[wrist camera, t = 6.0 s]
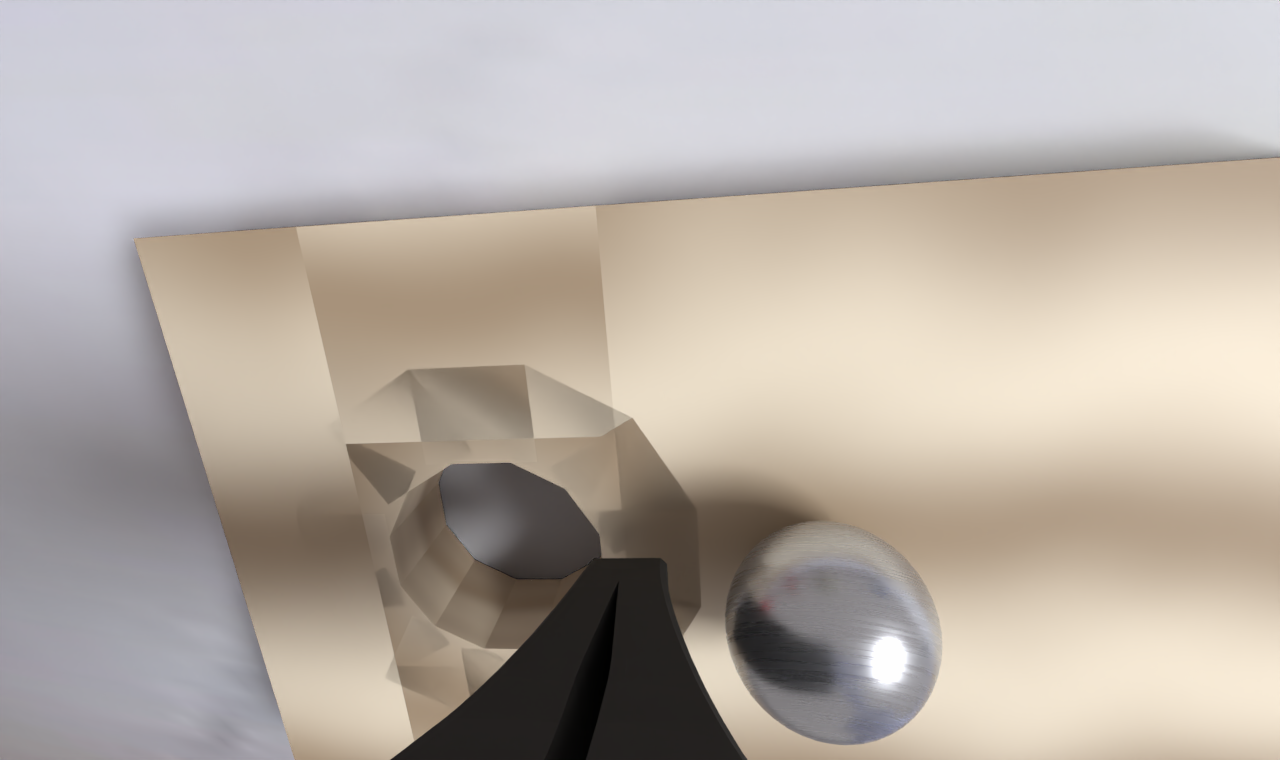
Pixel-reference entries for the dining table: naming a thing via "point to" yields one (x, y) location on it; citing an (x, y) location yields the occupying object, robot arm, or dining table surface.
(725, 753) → the robot arm
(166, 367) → the dining table surface
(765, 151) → the dining table surface
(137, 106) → the dining table surface
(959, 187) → the birch plate
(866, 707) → the silver metal ball
